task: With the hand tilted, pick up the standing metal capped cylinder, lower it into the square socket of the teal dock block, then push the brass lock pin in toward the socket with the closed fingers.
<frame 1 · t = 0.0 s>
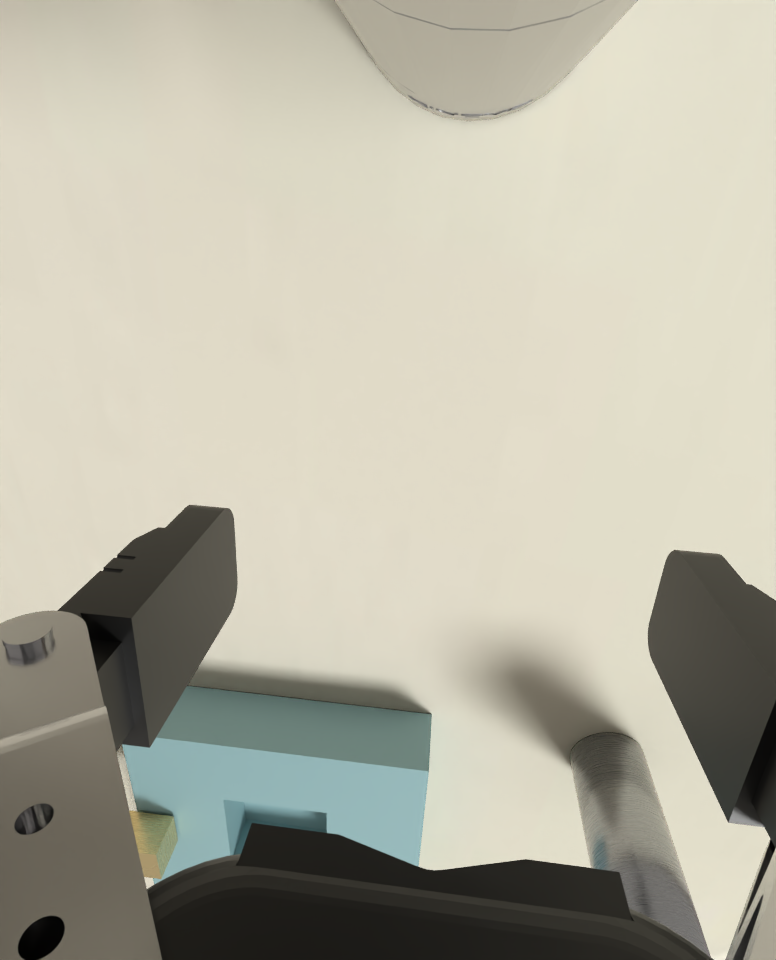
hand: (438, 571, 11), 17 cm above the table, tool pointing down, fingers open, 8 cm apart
lock pin: (105, 845, 36), point 6 cm above the table, slide at 0.0 cm
dock: (292, 782, 41), on the table
metal capped cylinder: (606, 757, 36), on the table
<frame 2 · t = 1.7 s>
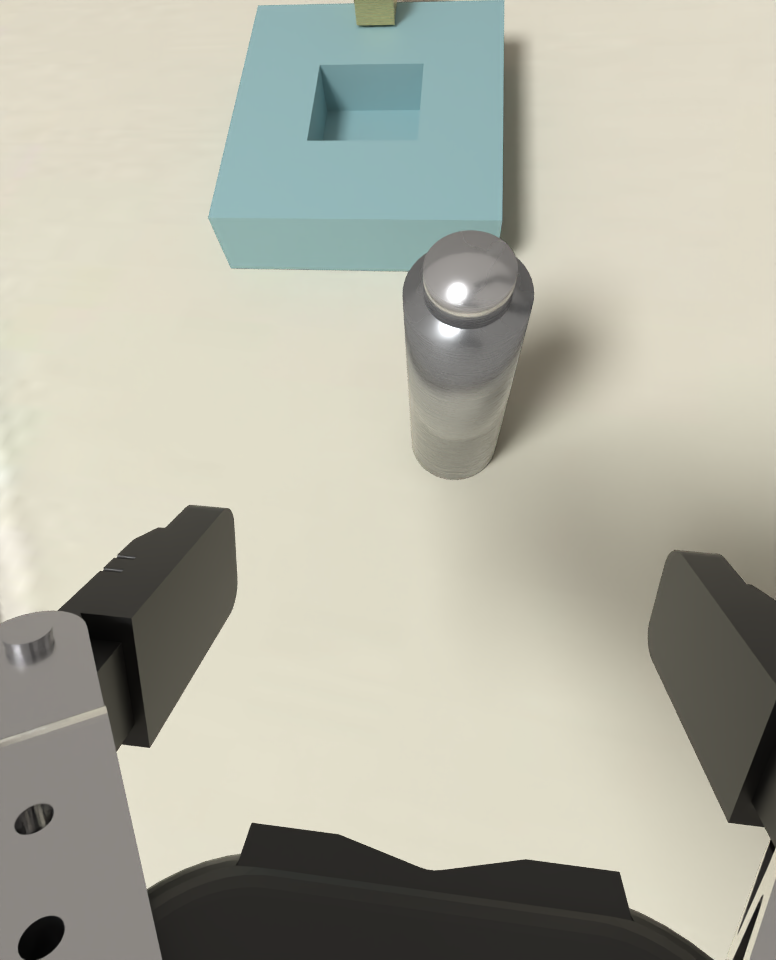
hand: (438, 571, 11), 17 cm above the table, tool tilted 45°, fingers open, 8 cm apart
dock: (372, 159, 39), on the table
metal capped cylinder: (453, 440, 31), on the table
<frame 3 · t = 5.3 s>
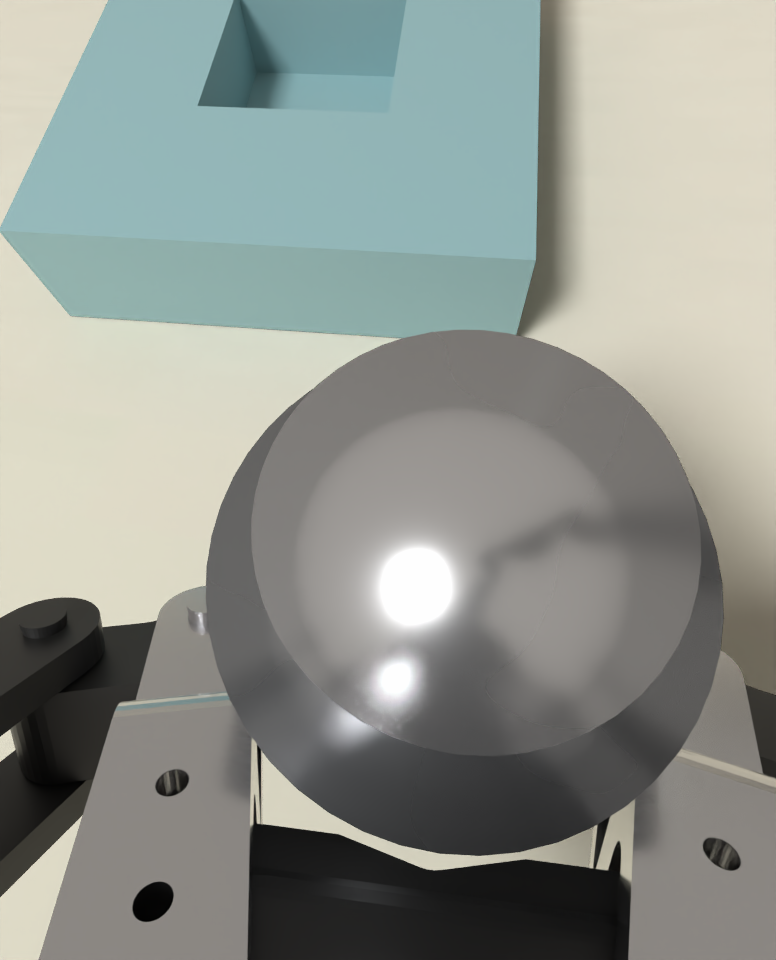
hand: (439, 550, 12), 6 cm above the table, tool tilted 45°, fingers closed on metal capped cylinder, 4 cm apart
dock: (323, 150, 24), on the table
metal capped cylinder: (427, 673, 16), on the table, touching gripper
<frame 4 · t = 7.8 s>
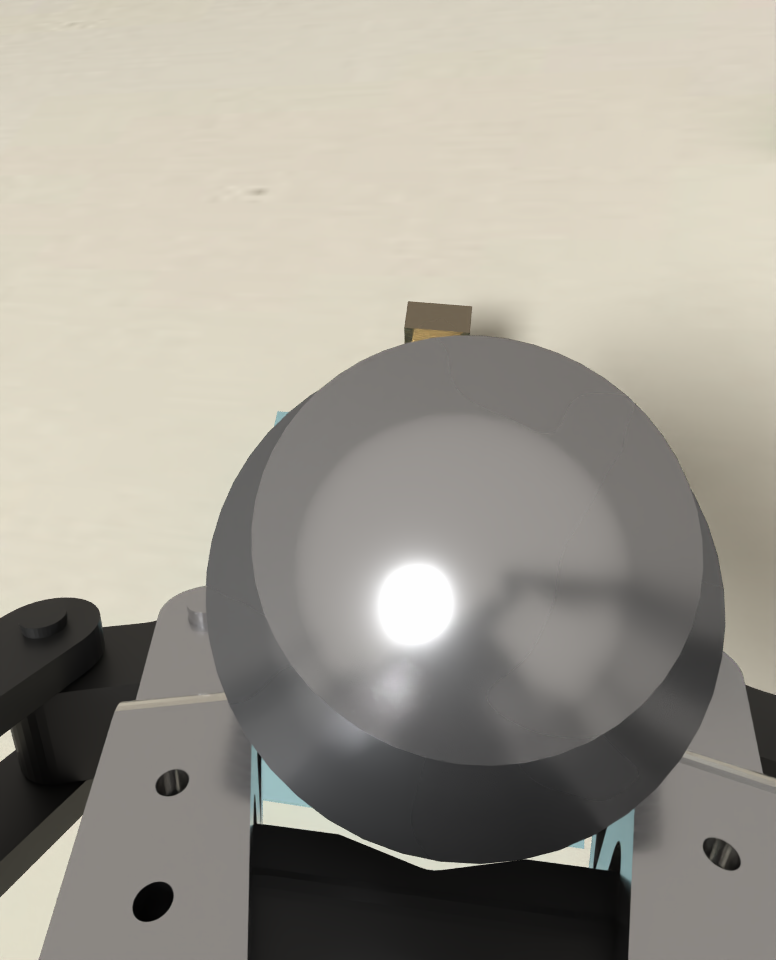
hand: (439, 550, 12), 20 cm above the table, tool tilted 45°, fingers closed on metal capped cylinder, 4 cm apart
lock pin: (431, 386, 29), point 6 cm above the table, slide at 0.0 cm
dock: (408, 612, 31), on the table
metal capped cylinder: (427, 675, 16), point 14 cm above the table, touching gripper
when the fingers open (8 cm above the table, at t = 10.8 s): metal capped cylinder drops 1 cm, resting on dock.
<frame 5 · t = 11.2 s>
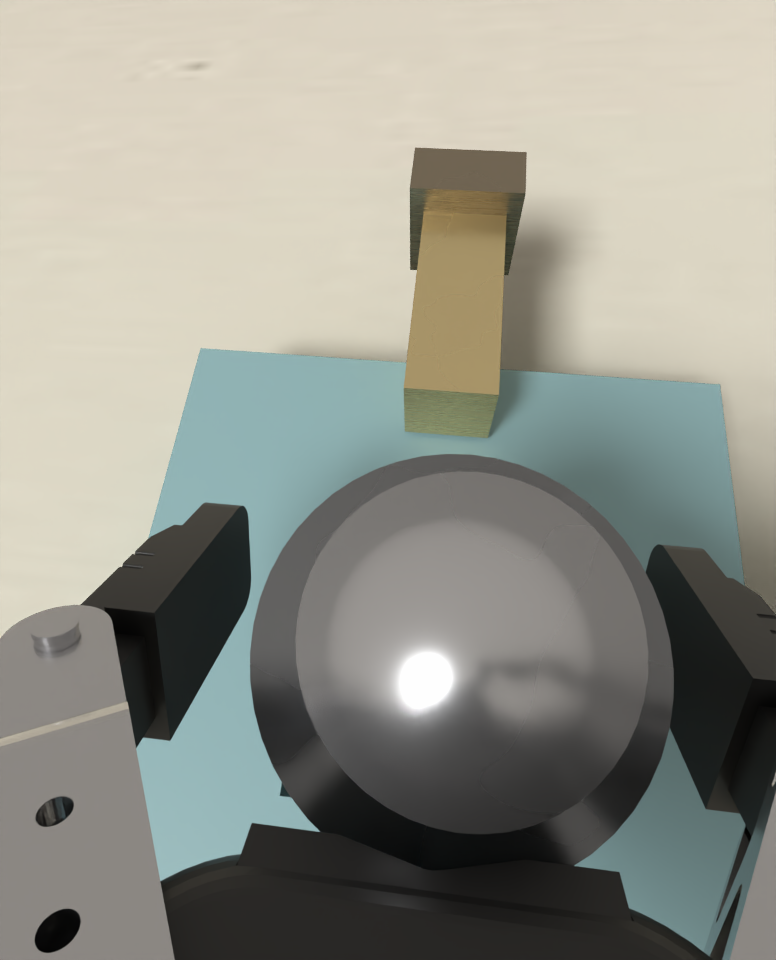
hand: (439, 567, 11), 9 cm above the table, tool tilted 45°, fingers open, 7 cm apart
lock pin: (458, 292, 17), point 6 cm above the table, slide at 0.0 cm
dock: (424, 680, 18), on the table
metal capped cylinder: (426, 683, 17), point 1 cm above the table, touching dock
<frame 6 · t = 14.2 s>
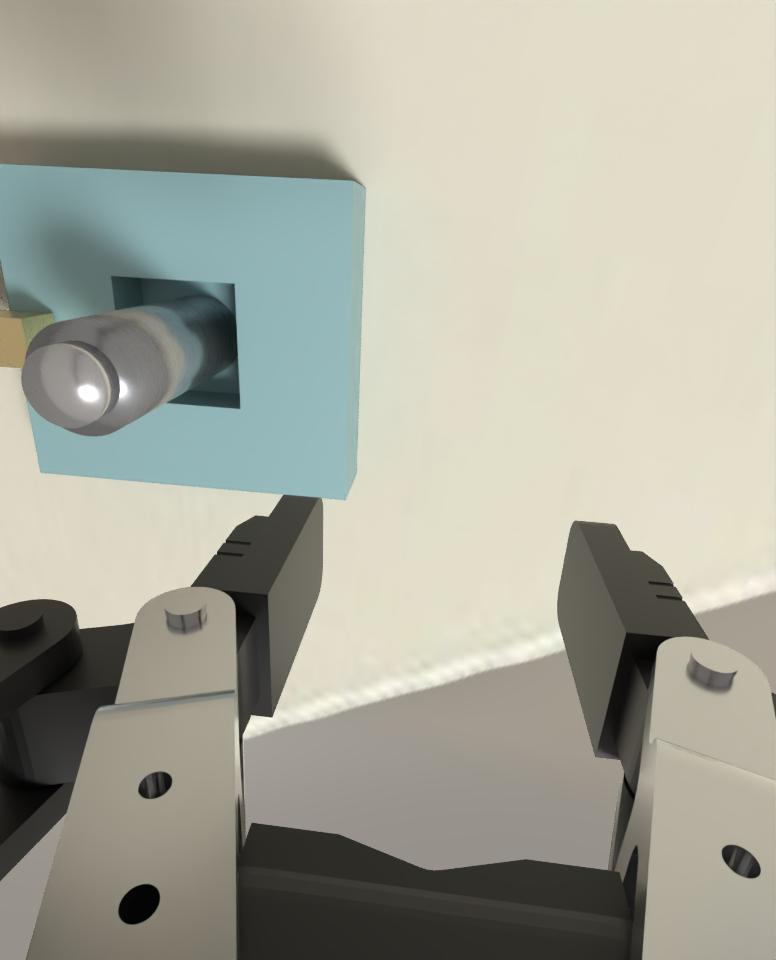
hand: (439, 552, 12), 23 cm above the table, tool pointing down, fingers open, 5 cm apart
dock: (207, 333, 34), on the table
metal capped cylinder: (203, 335, 33), point 1 cm above the table, touching dock
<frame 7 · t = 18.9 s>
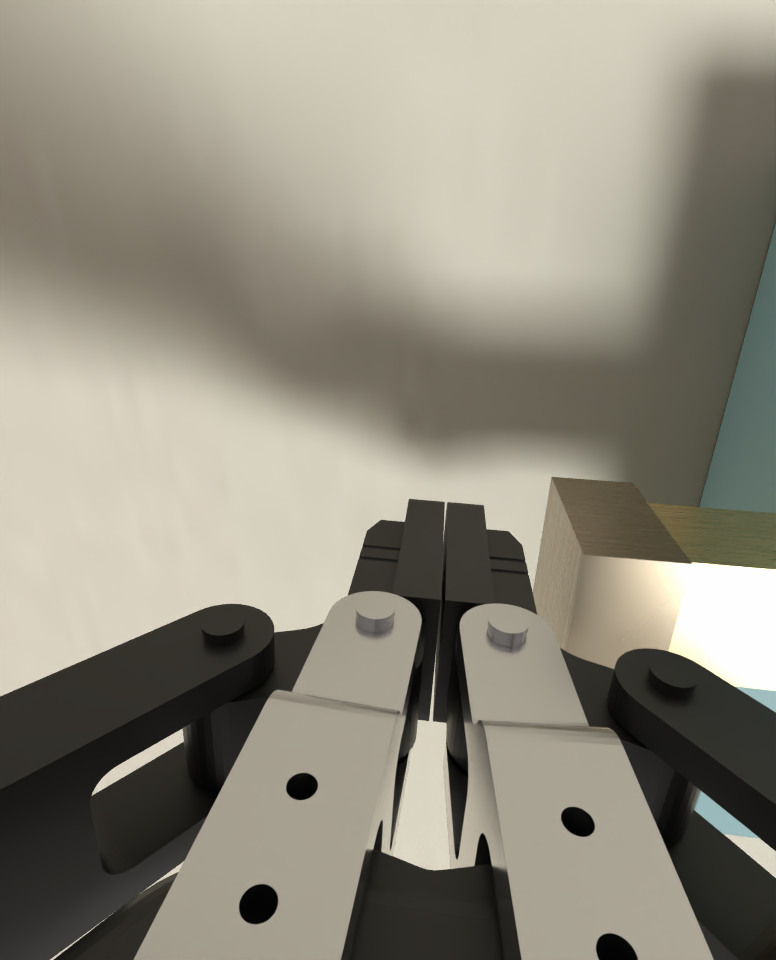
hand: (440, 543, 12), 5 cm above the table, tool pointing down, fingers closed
lock pin: (763, 606, 11), point 6 cm above the table, slide at 0.2 cm, touching gripper
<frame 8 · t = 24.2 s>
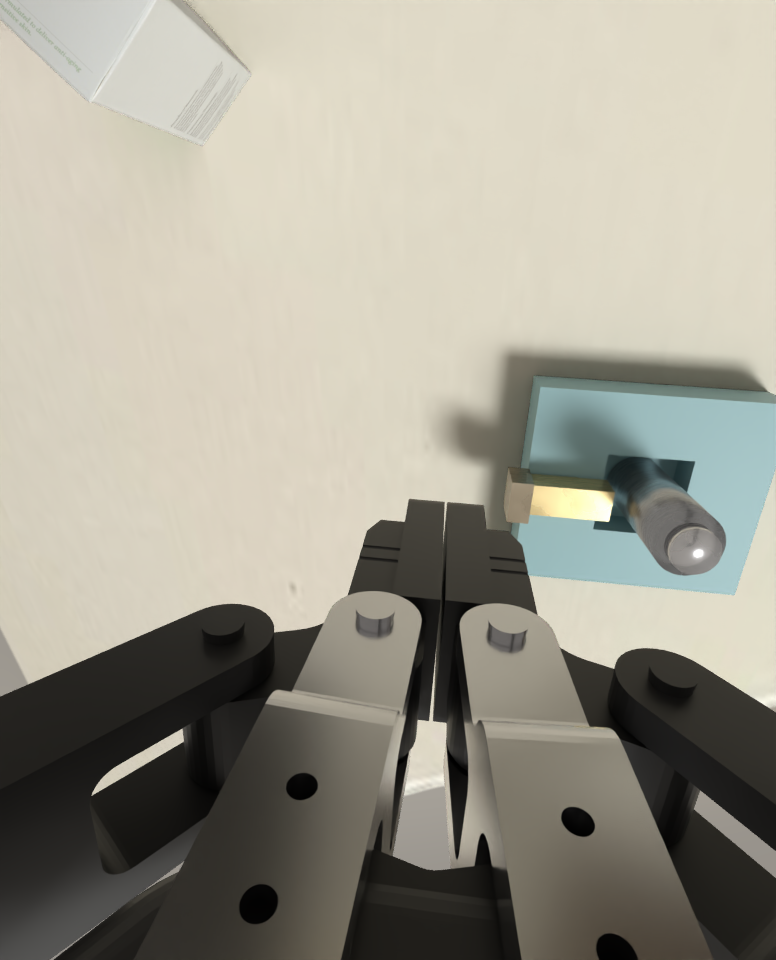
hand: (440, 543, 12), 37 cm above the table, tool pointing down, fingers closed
skincare box: (188, 68, 42), on the table
lock pin: (558, 498, 45), point 6 cm above the table, slide at 3.5 cm
dock: (628, 477, 49), on the table
metal capped cylinder: (634, 481, 48), point 1 cm above the table, touching dock
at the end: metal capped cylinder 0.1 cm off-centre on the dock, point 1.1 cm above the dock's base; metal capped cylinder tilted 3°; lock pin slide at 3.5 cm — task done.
